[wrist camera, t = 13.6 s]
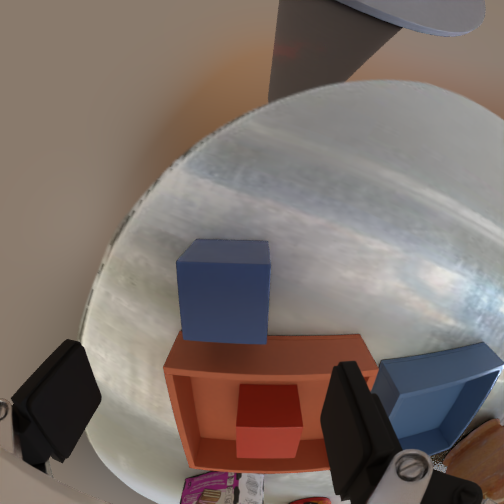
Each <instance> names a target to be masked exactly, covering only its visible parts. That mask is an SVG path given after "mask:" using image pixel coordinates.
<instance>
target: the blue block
mask: <svg viewBox="0 0 504 504" xmlns="http://www.w3.org/2000/svg"><path fill="white" fill-rule="evenodd" d="M176 269H177V283H178V295H179V306H180V316H181V326H182V334H183V340H190V341H202V342H217V343H235V344H263V345H266V344H267V331H268V313H269V295H270V276H271V261H270V253H269V245H268V241H254V240H217V239H196V240H195V241H194V242H193V243H192V244H191V245H190V246H189V248H188V249H187V250H186V251H185V252H184V253H183V254H182V255H181V257H180V258H179V259H178V260H177V261H176Z"/></svg>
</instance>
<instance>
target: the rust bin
mask: <svg viewBox="0 0 504 504" xmlns="http://www.w3.org/2000/svg"><path fill="white" fill-rule="evenodd" d="M341 361H356V362H357V364H358V366H359V368H360V370H361V373H362V375H363V377H364V379H365V381H366V383H367V385H368V388H369V390H370V392H371V390H372V387H373V385H374V382H375V379H376V375H377V374H378V371H379V368H378V366H377V365H376V363H375V361H374V359H373V357H372V355H371V353H370V352H369V350H368V348H367V346H366V344H365V343H364V341H363V339H362V337H361V335H360V334H353V335H327V336H267V344H266V345H263V344H235V343H217V342H202V341H190V340H183V334H182V331H179V334H178V336H177V338H176V340H175V342H174V344H173V346H172V349H171V351H170V353H169V355H168V357H167V360H166V362H165V364H164V366H163V369H164V373H165V379H166V384H167V388H168V392H169V397H170V401H171V405H172V409H173V413H174V417H175V420H176V424H177V428H178V431H179V435H180V438H181V442H182V445H183V448H184V451H185V455H186V458H187V461H188V464H189V467H190V468H194V469H202V470H210V471H220V472H233V473H259V474H275V473H300V472H313V471H323V470H330V466H329V461H328V457H327V452H326V447H325V442H324V437H323V433H322V428H321V423H320V415H321V411H322V408H323V404H324V401H325V397H326V393H327V389H328V386H329V382H330V378H331V373H332V369H333V367H334V366H338V363H339V362H341ZM240 384H256V385H297V387H298V393H299V400H300V407H301V413H302V420H303V431H302V434H301V438H300V442H299V445H298V449H297V452H296V456H295V458H237V453H236V418H237V407H238V396H239V385H240Z"/></svg>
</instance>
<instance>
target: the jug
mask: <svg viewBox="0 0 504 504" xmlns="http://www.w3.org/2000/svg"><path fill="white" fill-rule="evenodd" d="M443 465H445V466H447V467H448V468H447V470H446V474H449V475H452V476H455V477H459V478H462V479H465V480H469V481H472V482H475V483H477V484H478V485H479V486H480V487H481V489H482V492H483V499H485V500H486V499H487V498H490V499H491V500H493V501H495V502H496V503H498V504H504V426H501V425H500V419H498V418H497V419H492V420H490V421H487V422H486V423H484V424H482V425H481V426H479V427H478V428H477V429H475V430H474V431H473V432H471V433H470V434H469V435H468V436H467V437H466V438H465V439H463V440H462V441H460V442H459V443H458V444H457V445H456V446H455V447H454V448H453V449H452V450H451V451H450V452H449V453H448V455H446V457H445V459H444V461H443Z"/></svg>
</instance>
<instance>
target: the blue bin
mask: <svg viewBox="0 0 504 504" xmlns="http://www.w3.org/2000/svg"><path fill="white" fill-rule="evenodd" d="M503 368H504V362H503V361H502V360H501V359H500V358H499V357H498V356H497V355H496V354H495V353H494V352H493V351H492V350H491V349H490V348H489V347H488V346H487V345H486V344H485V343H484V342H482V343H478V344H474V345H469V346H465V347H460V348H456V349H451V350H446V351H441V352H435V353H430V354H424V355H418V356H411V357H404V358H397V359H389V360H382V361H381V363H380V366H379V371H378V374H377V375H376V379H375V382H374V385H373V387H372V390H371V394H372V393H375V394H377V395H378V397H379V398H380V401H381V403H382V405H383V407H384V409H385V411H386V413H387V416H388V418H389V420H390V422H391V424H392V426H393V429H394V431H395V433H396V435H397V438H398V440H399V442H400V444H401V447H402V449H403V450H406V449H417V450H421V451H423V452H425V453H426V454H427V455H428V456H432V455H435V454H437V453H440V452H443V451H445V450H448V449H450V448H451V447H452V446H453V445H454V443H455V442H456V441H457V440H458V438H459V437H460V436H461V434H462V433H463V432H464V430H465V429H466V428H467V426H468V425H469V424H470V422H471V421H472V419H473V418H474V416H475V415H476V413H477V412H478V410H479V409H480V407H481V406H482V404H483V403H484V401H485V400H486V398H487V396H488V395H489V393H490V391H491V390H492V388H493V386H494V384H495V383H496V381H497V379H498V377H499V375H500V373H501V372H502V370H503Z"/></svg>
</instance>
